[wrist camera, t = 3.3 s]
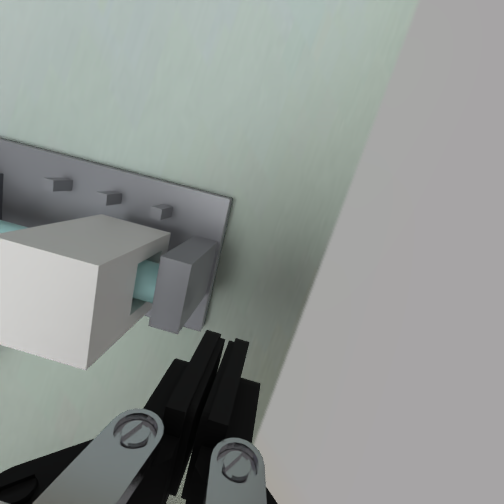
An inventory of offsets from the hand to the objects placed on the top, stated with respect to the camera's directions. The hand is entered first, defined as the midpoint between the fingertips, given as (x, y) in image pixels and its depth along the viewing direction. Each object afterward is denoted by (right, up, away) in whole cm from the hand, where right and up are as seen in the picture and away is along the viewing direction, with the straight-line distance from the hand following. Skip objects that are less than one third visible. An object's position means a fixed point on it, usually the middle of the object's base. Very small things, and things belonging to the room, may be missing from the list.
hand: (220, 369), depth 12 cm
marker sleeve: (-7, +4, +10) cm, 13 cm away
